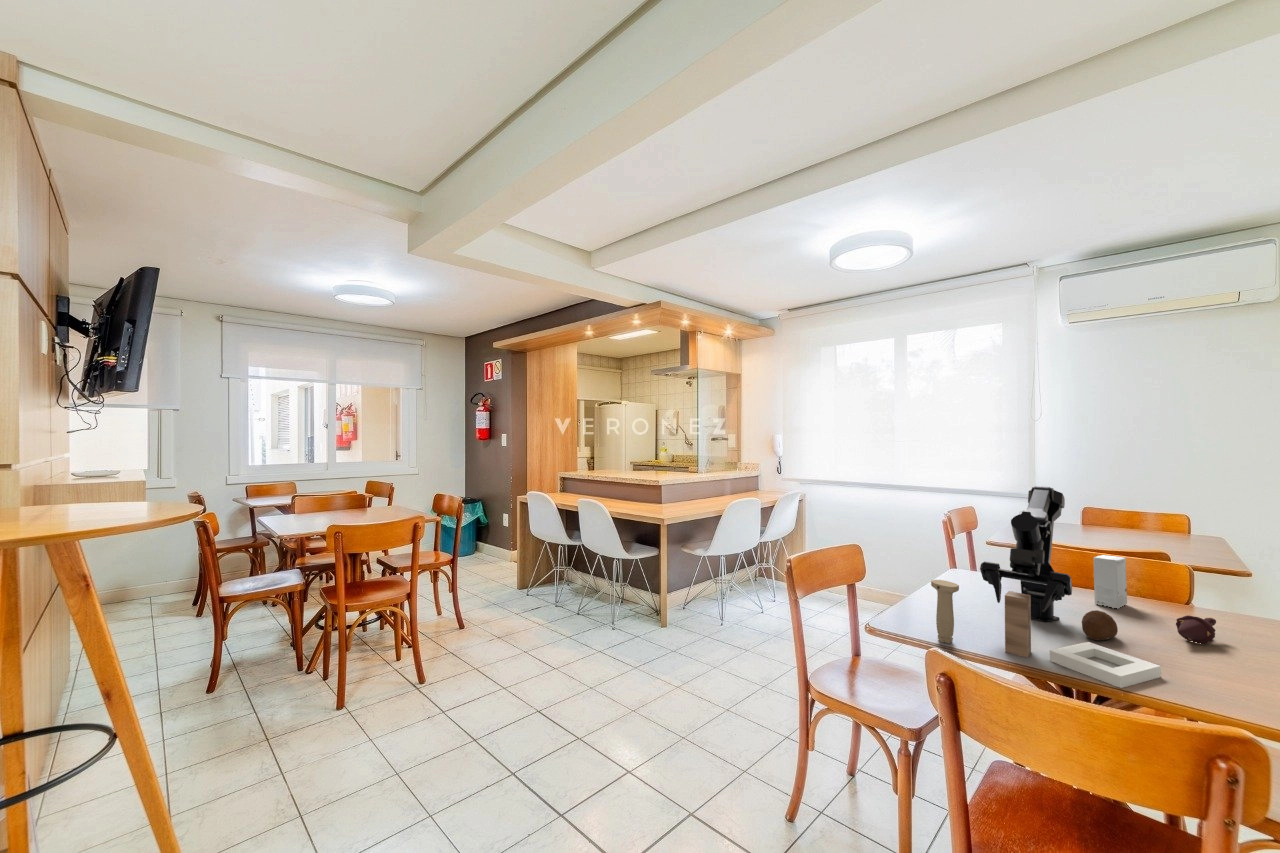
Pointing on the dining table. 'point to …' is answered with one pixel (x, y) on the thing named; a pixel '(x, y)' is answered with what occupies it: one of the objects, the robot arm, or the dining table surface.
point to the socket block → (1105, 664)
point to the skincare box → (1110, 581)
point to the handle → (945, 609)
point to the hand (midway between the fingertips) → (1020, 606)
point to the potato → (1099, 625)
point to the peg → (1018, 623)
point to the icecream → (1196, 629)
